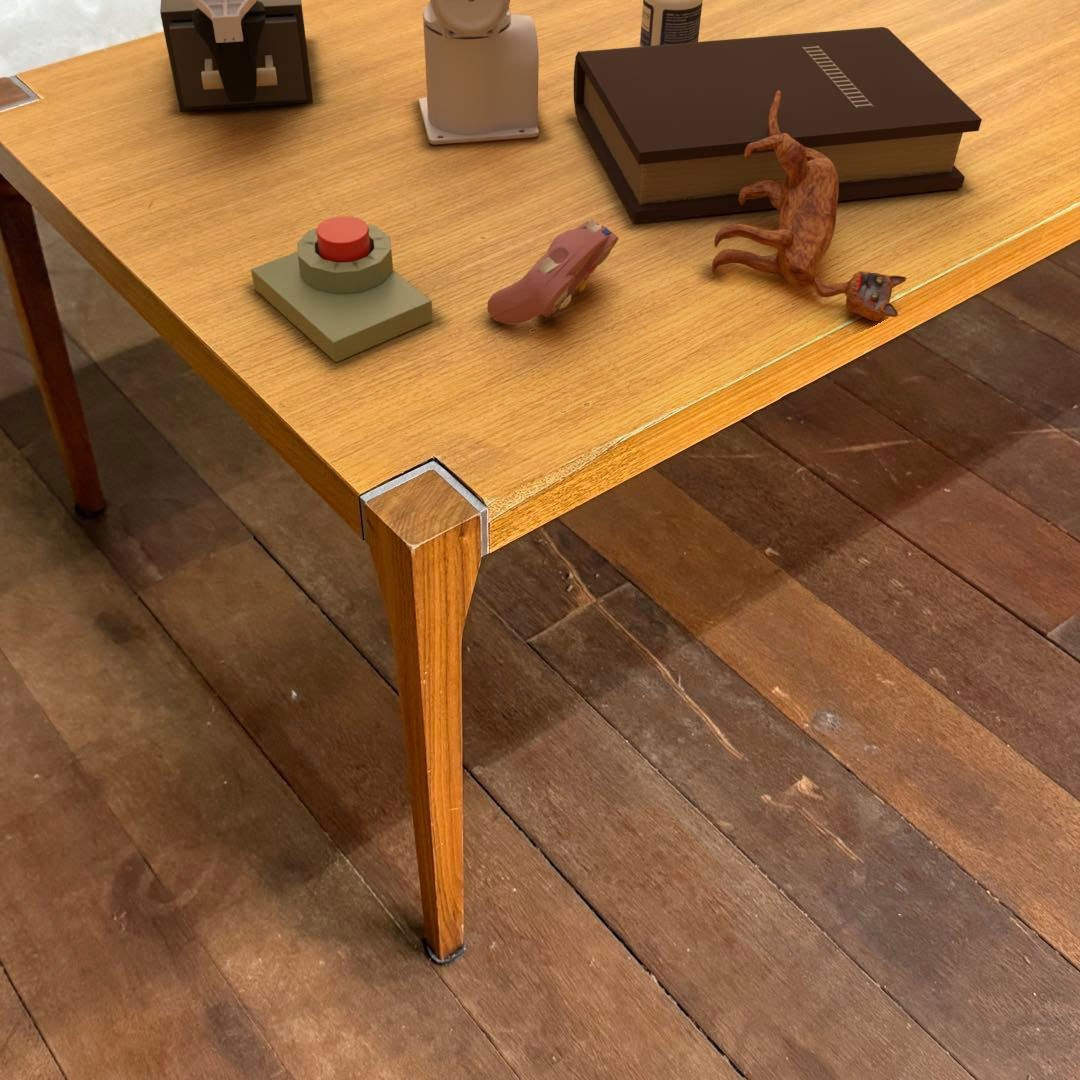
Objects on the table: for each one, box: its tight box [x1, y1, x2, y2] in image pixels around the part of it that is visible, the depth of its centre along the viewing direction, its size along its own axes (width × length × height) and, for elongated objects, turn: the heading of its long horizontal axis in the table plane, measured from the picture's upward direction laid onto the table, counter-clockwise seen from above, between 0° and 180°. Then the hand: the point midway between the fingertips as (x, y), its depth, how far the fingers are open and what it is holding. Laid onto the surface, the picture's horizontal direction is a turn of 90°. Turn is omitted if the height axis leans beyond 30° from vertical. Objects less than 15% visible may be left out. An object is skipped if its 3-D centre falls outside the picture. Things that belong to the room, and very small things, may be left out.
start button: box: [316, 215, 370, 263], centre depth 85 cm, size 4×4×2 cm
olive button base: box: [250, 223, 433, 363], centre depth 85 cm, size 11×9×4 cm
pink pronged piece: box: [487, 218, 620, 325], centre depth 85 cm, size 10×5×7 cm, turn 148°
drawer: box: [169, 15, 306, 107], centre depth 106 cm, size 16×10×7 cm, turn 11°
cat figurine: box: [711, 91, 907, 322], centre depth 89 cm, size 18×7×14 cm
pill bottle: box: [639, 0, 704, 47], centre depth 111 cm, size 5×5×10 cm
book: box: [573, 26, 983, 224], centre depth 101 cm, size 28×20×6 cm
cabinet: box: [159, 0, 314, 112], centre depth 108 cm, size 13×12×9 cm
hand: (242, 96), depth 101 cm, fingers closed, pressing on drawer
